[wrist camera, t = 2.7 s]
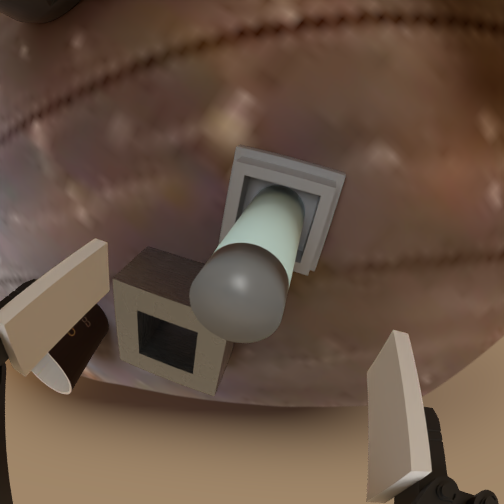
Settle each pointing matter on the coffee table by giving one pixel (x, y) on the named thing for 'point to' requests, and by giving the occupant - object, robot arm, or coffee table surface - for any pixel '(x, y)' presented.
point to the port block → (166, 322)
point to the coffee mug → (72, 352)
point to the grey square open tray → (296, 178)
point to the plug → (251, 269)
